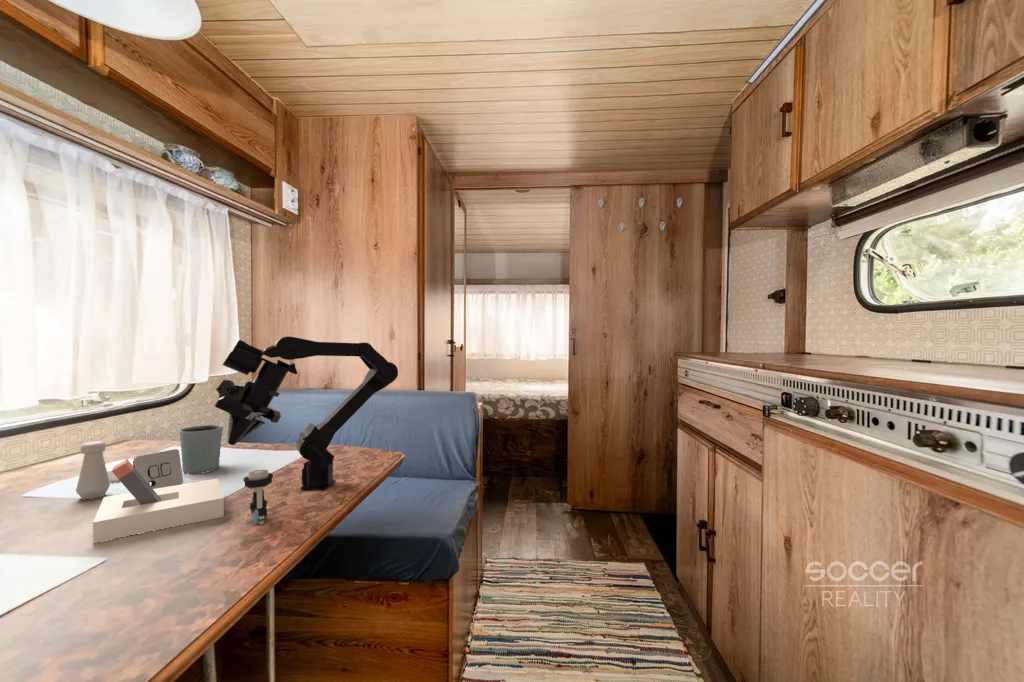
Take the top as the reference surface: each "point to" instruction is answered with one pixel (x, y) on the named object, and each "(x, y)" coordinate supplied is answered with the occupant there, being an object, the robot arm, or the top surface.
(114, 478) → the mooncake
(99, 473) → the salt shaker
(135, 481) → the lever
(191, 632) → the top surface
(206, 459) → the green cup
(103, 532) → the box
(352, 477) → the top surface
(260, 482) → the push button
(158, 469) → the electrical switch
